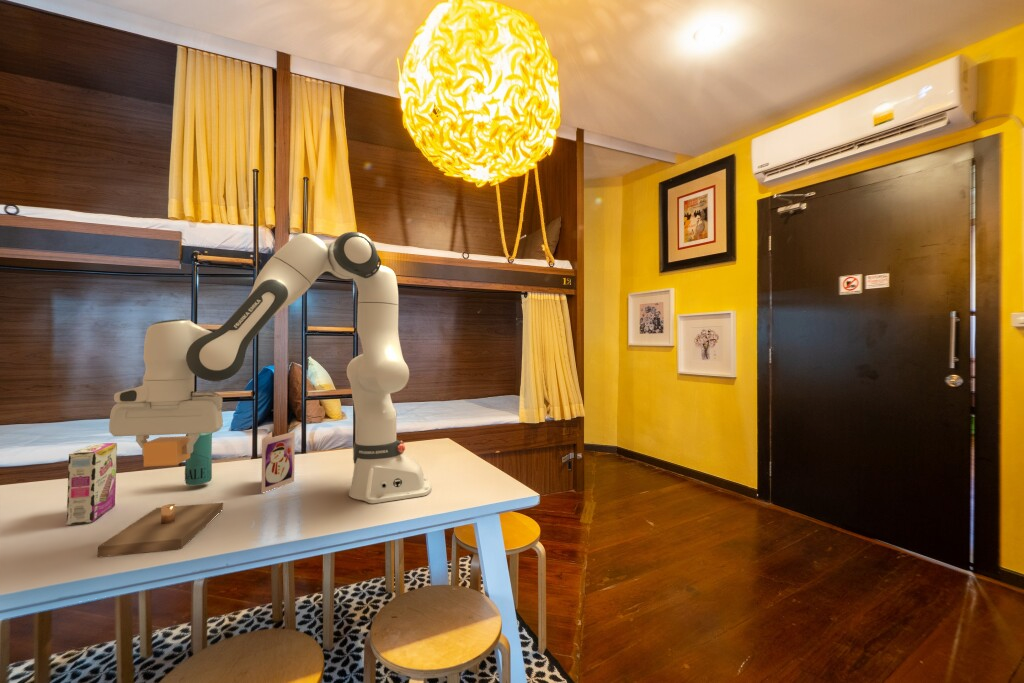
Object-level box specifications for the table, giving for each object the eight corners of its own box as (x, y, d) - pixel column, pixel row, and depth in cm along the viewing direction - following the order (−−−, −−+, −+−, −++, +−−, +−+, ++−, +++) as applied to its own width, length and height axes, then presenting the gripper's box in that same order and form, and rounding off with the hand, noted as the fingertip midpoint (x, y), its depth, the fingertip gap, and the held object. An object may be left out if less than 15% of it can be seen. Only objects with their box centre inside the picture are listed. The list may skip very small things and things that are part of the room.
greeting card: (264, 494, 116) (264, 439, 116) (243, 491, 118) (243, 438, 118) (296, 481, 126) (296, 431, 127) (277, 478, 129) (277, 430, 129)
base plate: (222, 510, 104) (223, 502, 104) (181, 548, 85) (181, 538, 85) (156, 515, 101) (156, 507, 101) (97, 557, 81) (97, 546, 81)
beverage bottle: (207, 481, 126) (208, 415, 126) (216, 486, 122) (216, 417, 122) (180, 487, 120) (181, 418, 120) (189, 492, 116) (189, 420, 117)
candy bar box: (94, 523, 97) (95, 452, 97) (65, 526, 95) (66, 454, 95) (117, 505, 107) (118, 441, 107) (91, 508, 105) (92, 443, 105)
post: (177, 519, 94) (177, 503, 94) (171, 523, 92) (171, 507, 92) (164, 520, 94) (164, 504, 94) (158, 524, 91) (158, 508, 91)
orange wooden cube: (190, 457, 96) (190, 436, 96) (176, 464, 90) (176, 441, 91) (159, 459, 95) (160, 437, 95) (143, 466, 89) (144, 443, 89)
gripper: (228, 389, 98) (227, 448, 98) (124, 391, 93) (123, 453, 93) (216, 392, 92) (215, 455, 92) (104, 394, 87) (103, 460, 87)
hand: (168, 454), depth 93 cm, fingers closed on orange wooden cube, 6 cm apart
